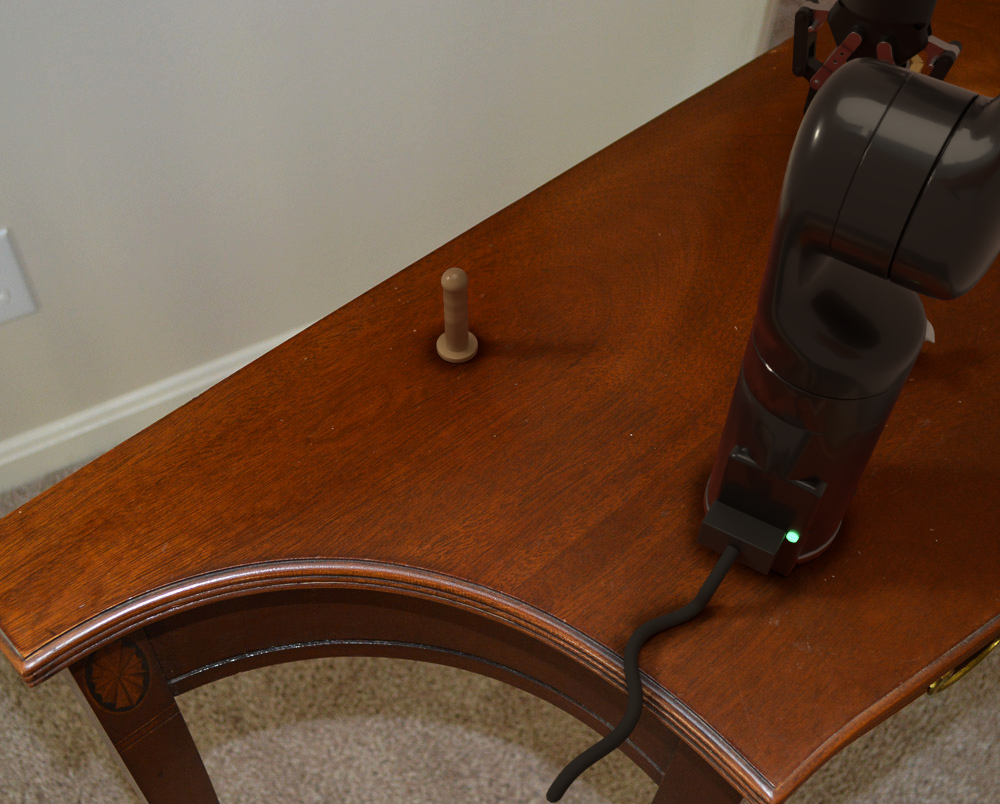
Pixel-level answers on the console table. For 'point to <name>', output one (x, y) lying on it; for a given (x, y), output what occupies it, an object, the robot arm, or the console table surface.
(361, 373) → the console table surface
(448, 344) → the left peg
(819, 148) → the robot arm
